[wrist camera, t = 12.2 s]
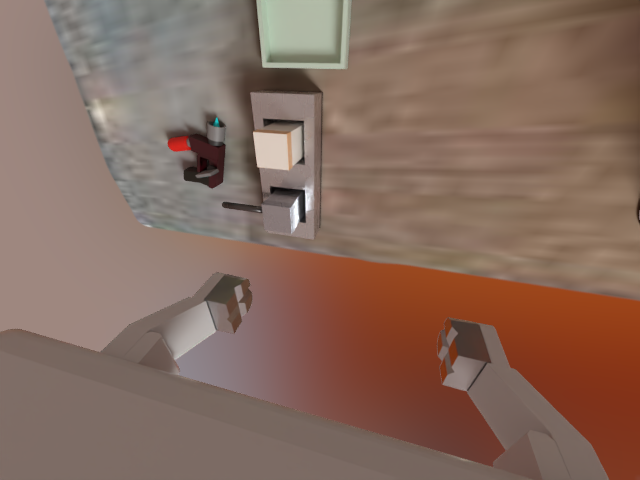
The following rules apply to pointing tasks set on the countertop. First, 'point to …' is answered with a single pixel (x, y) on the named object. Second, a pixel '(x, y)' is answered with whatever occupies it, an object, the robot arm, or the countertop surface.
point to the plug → (279, 144)
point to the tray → (304, 33)
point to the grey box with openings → (303, 178)
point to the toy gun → (204, 154)
